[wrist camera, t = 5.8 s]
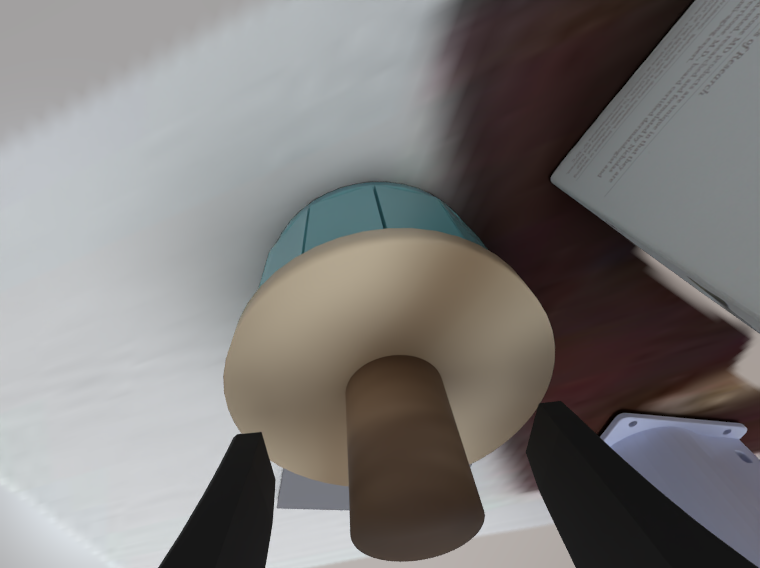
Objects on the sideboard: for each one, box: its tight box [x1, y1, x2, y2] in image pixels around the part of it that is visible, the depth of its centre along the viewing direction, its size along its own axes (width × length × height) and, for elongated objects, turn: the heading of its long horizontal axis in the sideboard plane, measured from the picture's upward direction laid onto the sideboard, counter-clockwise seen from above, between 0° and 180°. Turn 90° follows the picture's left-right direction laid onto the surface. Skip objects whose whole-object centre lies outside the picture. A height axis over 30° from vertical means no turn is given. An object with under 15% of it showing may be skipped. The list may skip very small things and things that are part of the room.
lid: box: [223, 228, 555, 562], centre depth 11 cm, size 10×10×5 cm
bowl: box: [258, 182, 487, 289], centre depth 15 cm, size 9×9×5 cm
